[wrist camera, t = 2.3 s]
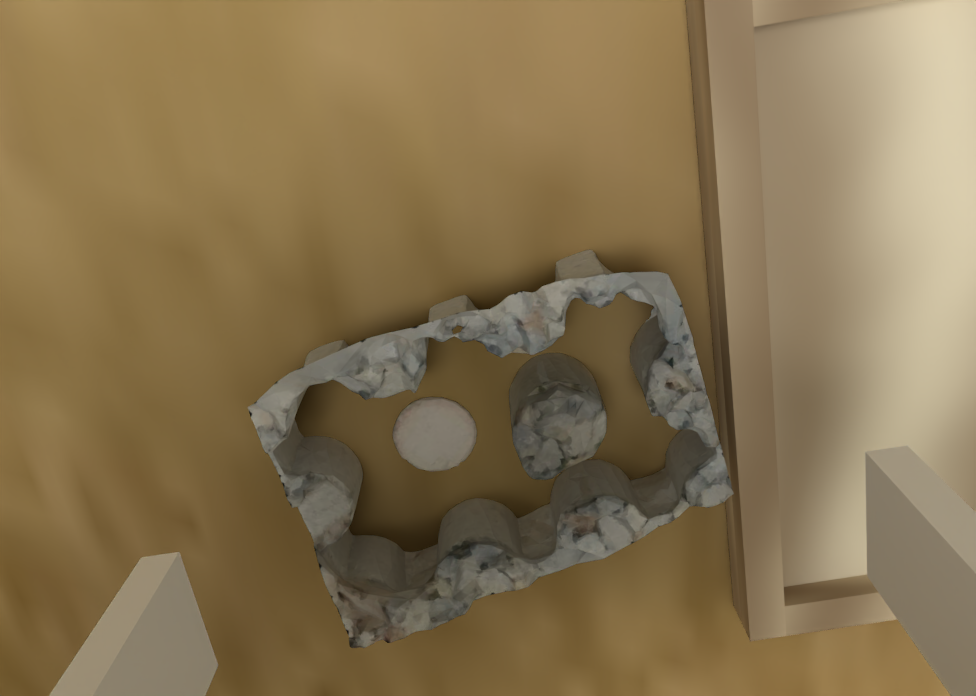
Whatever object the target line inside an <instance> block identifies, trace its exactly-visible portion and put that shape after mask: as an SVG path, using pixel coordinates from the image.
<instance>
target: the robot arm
mask: <svg viewBox="0 0 976 696" xmlns="http://www.w3.org/2000/svg"><path fill="white" fill-rule="evenodd" d="M865 467H866V533H867V577H868V578H869V579H870V581H871V582H872V584H873V585H874V587H875V588H876V589H877V591H878V592H879V594H880V595H881V597H882V598H883V599H884V601H885V602H886V604H887V605H888V607H889V608H890V609H891V611H892V612H893V614H894V615H895V617H896V618H897V619H898V621H899V622H900V624H901V625H902V627H903V628H904V629H905V631H906V632H907V634H908V635H909V637H910V638H911V639H912V641H913V642H914V644H915V645H916V647H917V648H918V649H919V651H920V652H921V654H922V655H923V657H924V658H925V659H926V661H927V662H928V664H929V665H930V667H931V668H932V669H933V671H934V672H935V674H936V675H937V676H938V678H939V679H940V681H941V682H942V684H943V685H944V686H945V688H946V689H947V691H948V692H949V694H950V695H951V696H976V512H975V511H974V510H973V509H972V508H971V507H970V506H969V505H968V504H967V503H966V502H965V501H964V500H963V499H962V498H961V497H960V496H959V495H957V494H956V493H955V492H954V491H953V490H952V489H951V488H950V487H949V486H948V485H947V484H946V483H945V482H944V481H943V480H942V479H941V478H940V477H939V476H938V475H937V474H936V473H935V472H934V471H933V470H932V469H931V468H930V467H929V466H928V465H927V464H926V463H925V462H924V461H923V460H922V459H921V458H920V457H919V456H918V455H917V454H916V453H915V452H913V451H912V450H911V449H910V448H909V447H908V446H901V447H894V448H887V449H880V450H873V451H866V452H865ZM217 667H218V663H217V660H216V657H215V654H214V651H213V648H212V646H211V643H210V640H209V637H208V634H207V631H206V628H205V625H204V622H203V619H202V616H201V614H200V611H199V608H198V605H197V602H196V599H195V596H194V593H193V590H192V587H191V584H190V582H189V579H188V576H187V573H186V570H185V567H184V564H183V561H182V558H181V555H180V552H175V553H168V554H161V555H154V556H147V557H141V558H140V560H139V561H138V563H137V564H136V566H135V567H134V569H133V570H132V572H131V573H130V575H129V576H128V578H127V579H126V581H125V582H124V584H123V585H122V587H121V588H120V590H119V591H118V593H117V594H116V596H115V597H114V599H113V600H112V602H111V603H110V605H109V606H108V608H107V609H106V611H105V612H104V614H103V615H102V617H101V618H100V620H99V621H98V623H97V624H96V626H95V627H94V629H93V630H92V632H91V633H90V635H89V636H88V638H87V639H86V641H85V642H84V644H83V645H82V647H81V648H80V650H79V651H78V653H77V654H76V656H75V657H74V659H73V660H72V662H71V663H70V665H69V666H68V668H67V669H66V671H65V672H64V674H63V675H62V677H61V678H60V680H59V681H58V683H57V684H56V686H55V687H54V689H53V690H52V692H51V693H50V695H49V696H205V695H206V693H207V691H208V688H209V686H210V684H211V681H212V679H213V677H214V674H215V672H216V670H217Z"/></svg>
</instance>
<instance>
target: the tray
mask: <svg viewBox="0 0 976 696" xmlns="http://www.w3.org/2000/svg"><path fill="white" fill-rule="evenodd" d="M686 11H687V24H688V37H689V49H690V62H691V75H692V87H693V100H694V113H695V125H696V138H697V151H698V163H699V176H700V188H701V201H702V214H703V226H704V239H705V252H706V264H707V277H708V290H709V302H710V315H711V327H712V340H713V353H714V365H715V378H716V391H717V403H718V416H719V429H720V441H721V448H722V451H723V455H724V459H725V463H726V467H727V471H728V475H729V478H730V481H731V486H732V490H733V493H734V494H733V495H731V496H730V497H729V498H728V499H727V500H726V501H725V504H726V517H727V530H728V542H729V555H730V568H731V580H732V593H733V605H734V607H735V609H736V611H737V614H738V616H739V618H740V620H741V622H742V624H743V627H744V629H745V631H746V633H747V635H748V637H749V640H750V641H755V640H762V639H769V638H776V637H782V636H789V635H796V634H803V633H809V632H816V631H823V630H830V629H836V628H843V627H850V626H856V625H863V624H870V623H877V622H883V621H890V620H897V618H896V617H895V615H894V614H893V612H892V611H891V609H890V608H889V607H888V605H887V604H886V602H885V601H884V599H883V598H882V597H881V595H880V594H879V592H878V591H877V589H876V588H875V587H874V585H873V584H872V582H871V581H870V579H869V578H868V577H867V533H866V467H865V452H866V451H873V450H880V449H887V448H894V447H901V446H908V447H909V448H910V449H911V450H912V451H913V452H915V453H916V454H917V455H918V456H919V457H920V458H921V459H922V460H923V461H924V462H925V463H926V464H927V465H928V466H929V467H930V468H931V469H932V470H933V471H934V472H935V473H936V474H937V475H938V476H939V477H940V478H941V479H942V480H943V481H944V482H945V483H946V484H947V485H948V486H949V487H950V488H951V489H952V490H953V491H954V492H955V493H956V494H957V495H959V496H960V497H961V498H962V499H963V500H964V501H965V502H966V503H967V504H968V505H969V506H970V507H971V508H972V509H973V510H974V511H975V512H976V0H686Z"/></svg>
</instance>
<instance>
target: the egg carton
mask: <svg viewBox="0 0 976 696" xmlns="http://www.w3.org/2000/svg"><path fill="white" fill-rule="evenodd" d="M555 273H556V279H555V282H554V283H551V284H547V285H544V286H542V287H541V288H540V289H539V290H537V291H536V292H532V293H531V292H524V291H520V292H517V293H515V294H512V295H510V296H508V297H506V298H505V299H504V300H503V301H502V302H501V303H499V304H498V305H497V306H495V307H493V308H491V309H485V310H478V309H477V308H476V307H475V306H474V305H473V303H472V302H471V300H470V299H469V298H468V297H467V296H466V295H462V296H459V297H455V298H453V299H450V300H447V301H445V302H442V303H439V304H436V305H435V306H432V307H431V308H430V311H429V319H428V323H425V324H422V325H419V326H416V327H412V328H408V329H403V330H399V331H394V332H390V333H386V334H382V335H378V336H374V337H371V338H367V339H364V340H362V341H360V342H358V343H355V344H353V345H351V346H348V345H347V344H346V342H345V341H344V340H340V341H335V342H331V343H328V344H326V345H323V346H321V347H318V348H316V349H314V350H312V351H310V352H309V354H308V355H307V357H306V360H305V364H304V366H303V367H302V368H300V369H297V370H295V371H293V372H291V373H289V374H287V375H286V376H285V377H283V378H282V379H280V380H279V381H277V382H276V383H275V384H274V385H273V386H272V387H271V388H270V389H269V390H268V391H267V392H266V393H265V394H264V395H263V396H262V397H260V398H259V399H258V400H257V401H256V402H255V403H254V404H252V405H251V406H249V407H248V410H249V413H250V416H251V419H252V421H253V423H254V425H255V428H256V430H257V433H258V436H259V438H260V441H261V443H262V446H263V449H264V451H265V453H268V454H269V456H270V458H271V460H272V461H273V463H274V466H275V468H276V470H277V472H278V474H279V476H280V479H281V481H282V484H283V487H284V490H285V493H286V497H287V499H288V501H289V503H290V505H291V507H298V509H299V511H300V514H301V516H302V518H303V520H304V522H305V524H306V526H307V528H308V530H309V532H310V534H311V536H312V538H313V541H314V548H315V552H316V556H317V559H318V563H319V567H320V570H321V573H322V576H323V579H324V582H325V585H326V587H327V589H328V591H329V594H330V596H331V598H332V600H333V602H334V604H335V605H336V607H337V609H338V612H339V614H340V616H341V619H342V621H343V624H344V626H345V628H346V631H347V633H348V635H349V644H350V647H352V648H358V647H362V648H365V647H367V646H369V645H371V644H373V643H375V642H376V641H379V640H382V639H383V640H384V641H386V642H387V643H391V642H393V641H396V640H399V639H403V638H405V637H407V636H408V635H410V634H412V633H414V632H416V631H422V630H432V629H434V628H435V627H437V626H439V625H441V624H443V623H446V622H448V621H450V620H452V619H454V618H456V617H458V616H461V615H464V614H465V613H466V612H467V611H468V610H469V608H470V606H471V604H472V602H473V601H474V600H476V599H479V598H481V597H484V596H487V595H492V594H496V593H501V592H505V591H515V590H519V589H523V588H526V587H529V586H530V585H531V584H532V583H533V582H534V581H535V580H536V579H537V578H538V577H541V576H545V575H548V574H551V573H554V572H557V571H560V570H563V569H565V568H568V567H570V566H573V565H575V564H578V563H584V562H589V561H595V560H600V559H604V558H606V557H608V556H609V555H611V554H613V553H615V552H616V551H618V550H620V549H622V548H624V547H626V546H628V545H630V544H632V543H634V542H635V541H637V540H639V539H641V538H643V537H644V536H646V535H647V534H649V533H650V532H651V531H653V530H654V529H655V528H657V527H658V526H661V525H664V524H667V523H670V522H672V521H673V520H675V519H676V518H678V517H679V516H680V515H681V514H682V513H683V512H684V511H685V510H686V509H687V508H688V507H690V506H700V507H707V508H709V507H712V506H715V505H718V504H720V503H723V502H724V501H726V500H727V499H728V498H729V497H730V496H731V495H733V494H734V493H733V490H732V486H731V481H730V478H729V475H728V471H727V467H726V463H725V459H724V455H723V451H722V448H721V444H720V442H719V439H718V435H717V431H716V427H715V422H714V418H713V414H712V410H711V406H710V402H709V399H708V396H707V393H706V388H705V384H704V380H703V377H702V373H701V370H700V366H699V362H698V359H697V355H696V351H695V348H694V344H693V337H692V334H691V331H690V328H689V326H688V323H687V319H686V316H685V313H684V310H683V307H682V304H681V301H680V298H679V296H678V294H677V292H676V290H675V288H674V286H673V284H672V282H671V279H670V277H669V275H668V274H666V273H661V272H622V273H613V272H611V271H610V270H608V269H607V268H606V267H604V266H603V264H602V263H601V262H600V261H599V260H598V258H597V256H596V254H595V253H594V252H593V251H592V250H585V251H582V252H579V253H576V254H574V255H571V256H568V257H566V258H563V259H561V260H559V261H557V262H556V269H555ZM619 292H621V293H623V294H625V295H626V296H627V297H629V298H630V299H633V300H635V301H640V302H645V303H648V304H650V305H653V306H654V308H653V309H652V311H651V316H650V317H649V319H648V320H646V322H645V323H644V324H643V325H642V326H641V328H640V329H639V330H638V332H637V333H636V335H635V337H634V340H633V342H632V345H631V347H630V363H631V366H632V369H633V371H634V373H635V375H636V378H637V380H638V381H639V383H640V385H641V387H642V390H643V392H644V395H645V399H646V402H647V404H648V407H649V409H650V412H651V414H652V416H663V417H664V418H665V419H666V420H667V422H668V424H669V426H671V427H673V428H675V429H676V430H681V431H680V432H678V433H677V434H676V436H675V437H674V438H673V439H672V441H671V442H670V443H669V446H668V449H667V451H666V462H665V468H663V469H662V470H660V471H658V472H656V473H654V474H652V475H649V476H646V477H644V478H638V479H634V480H630V479H629V478H628V477H627V475H626V474H625V473H624V472H623V471H622V470H621V469H620V468H619V467H617V466H615V465H614V464H612V463H609V462H606V461H604V460H601V459H596V460H586V459H588V458H591V457H593V456H594V454H595V453H596V451H597V449H598V447H599V446H600V444H601V442H602V440H603V439H604V436H605V434H606V427H607V417H606V412H605V409H606V408H605V409H604V406H605V405H604V406H603V404H604V403H603V404H602V402H603V400H602V401H601V399H602V398H600V397H601V395H599V394H600V392H599V390H598V387H597V385H596V382H595V379H594V378H593V376H592V374H591V373H590V371H589V370H588V369H587V368H586V367H585V366H584V365H583V364H582V363H581V362H580V361H578V360H577V359H575V358H572V357H570V356H568V355H566V354H562V353H546V354H541V355H538V356H536V357H533V358H531V359H530V360H529V361H528V362H526V363H525V364H524V365H523V366H522V367H521V368H520V370H519V371H518V372H517V374H516V376H515V378H514V380H513V382H512V384H511V387H510V389H509V404H510V414H511V425H512V436H513V444H514V446H515V449H516V451H517V454H518V456H519V458H520V461H521V464H522V466H523V468H524V469H525V471H526V472H527V474H528V475H529V476H530V477H531V478H532V479H538V480H546V479H552V478H553V477H555V476H556V475H557V474H559V473H560V472H562V471H563V470H564V471H563V472H562V473H561V474H560V475H559V476H558V477H557V478H556V480H555V482H554V485H553V488H552V491H551V500H550V503H549V504H547V505H544V506H542V507H540V508H538V509H536V510H535V511H533V512H531V513H529V514H527V515H525V516H523V517H520V518H516V517H515V515H514V513H513V512H512V511H511V510H509V509H508V508H507V507H506V506H505V505H503V504H501V503H498V502H496V501H493V500H488V499H482V498H474V499H469V500H465V501H463V502H461V503H459V504H457V505H456V506H455V507H453V508H452V509H451V510H449V511H448V512H447V514H446V515H445V516H444V517H443V519H442V522H441V526H440V530H439V534H438V544H436V545H434V546H431V547H429V548H426V549H424V550H420V551H416V552H404V551H403V550H402V549H401V548H400V547H399V546H398V545H397V544H396V543H394V542H392V541H390V540H388V539H387V538H384V537H380V536H375V535H359V536H355V535H352V534H351V532H350V530H349V529H348V528H349V526H350V525H351V523H352V519H353V516H354V512H355V509H356V505H357V501H358V497H359V493H360V488H361V484H362V480H363V471H362V466H361V464H360V461H359V459H358V458H357V456H356V455H355V454H354V452H353V451H352V450H351V449H350V448H348V447H347V446H346V445H345V444H344V443H342V442H340V441H338V440H337V439H333V438H330V437H324V436H310V437H304V436H303V435H302V434H301V433H300V432H299V430H298V427H297V423H296V421H295V416H296V413H297V410H298V408H299V405H300V403H301V401H302V398H303V396H304V394H305V392H306V390H307V388H308V387H309V386H311V385H315V384H319V383H326V382H328V381H330V380H335V381H337V382H339V383H341V384H343V385H344V386H346V387H347V388H348V389H350V390H351V391H352V392H355V393H358V394H360V395H361V396H362V397H363V398H364V399H365V400H367V399H370V398H372V397H375V398H385V397H390V396H393V395H395V394H398V393H400V392H403V391H405V390H407V389H408V390H411V391H412V392H413V393H415V392H416V391H417V389H418V386H419V384H420V382H421V380H422V378H423V376H424V373H425V371H426V367H427V363H426V355H427V349H428V342H429V337H431V338H434V339H435V340H437V341H440V342H444V341H446V340H448V339H450V338H452V337H454V336H455V337H457V338H459V339H461V340H462V342H467V341H471V340H476V341H478V342H481V343H483V344H484V345H485V347H486V349H487V351H489V352H491V353H493V354H495V355H497V356H499V357H501V358H502V357H504V356H506V355H507V354H509V353H511V352H512V353H528V354H530V355H533V354H536V353H538V352H541V351H543V350H545V349H546V348H548V347H549V346H551V345H552V344H553V343H554V342H555V341H556V340H557V339H558V338H559V337H561V336H563V334H564V330H565V320H566V310H567V308H568V306H569V304H570V302H571V300H573V299H574V298H581V299H582V300H583V301H584V302H585V303H586V304H591V305H594V306H596V307H598V308H602V307H604V306H607V305H609V304H610V303H611V302H612V301H613V299H614V297H615V295H616V294H617V293H619ZM457 325H460V326H462V327H463V328H462V330H461V332H459V333H456V334H453V332H452V330H453V329H454V328H455V327H456V326H457ZM476 436H477V430H476V424H475V421H474V420H473V418H472V416H471V415H470V413H469V412H468V411H467V410H466V409H465V408H464V407H462V406H461V405H460V404H458V403H457V402H455V401H452V400H449V399H446V398H443V397H427V398H422V399H418V400H416V401H414V402H412V403H410V404H409V405H408V406H407V407H406V408H404V409H403V410H402V412H401V413H400V415H399V416H398V418H397V420H396V423H395V426H394V428H393V440H394V443H395V446H396V449H397V450H398V452H399V454H400V455H401V457H402V458H403V459H406V460H407V461H408V462H409V463H411V464H412V465H413V466H415V467H416V468H418V469H423V470H427V471H441V470H449V469H450V468H452V467H455V466H458V465H459V464H460V462H463V461H465V459H466V458H467V457H468V456H469V454H470V453H471V452H472V450H473V447H474V445H475V443H476Z"/></svg>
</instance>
